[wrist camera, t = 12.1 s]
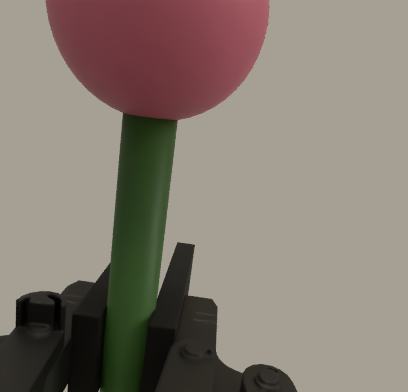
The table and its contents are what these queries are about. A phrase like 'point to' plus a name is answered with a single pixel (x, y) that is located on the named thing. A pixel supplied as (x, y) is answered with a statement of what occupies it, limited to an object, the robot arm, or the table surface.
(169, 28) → the flower
